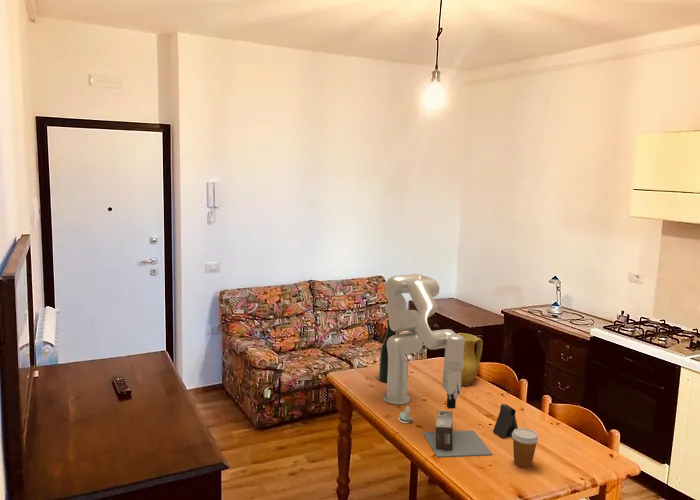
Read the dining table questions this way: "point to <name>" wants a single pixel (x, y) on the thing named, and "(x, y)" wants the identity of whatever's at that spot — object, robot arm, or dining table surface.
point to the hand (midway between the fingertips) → (450, 407)
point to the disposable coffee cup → (524, 446)
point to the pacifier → (405, 415)
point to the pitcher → (470, 358)
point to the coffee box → (444, 430)
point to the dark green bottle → (385, 355)
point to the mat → (460, 445)
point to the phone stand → (505, 422)
